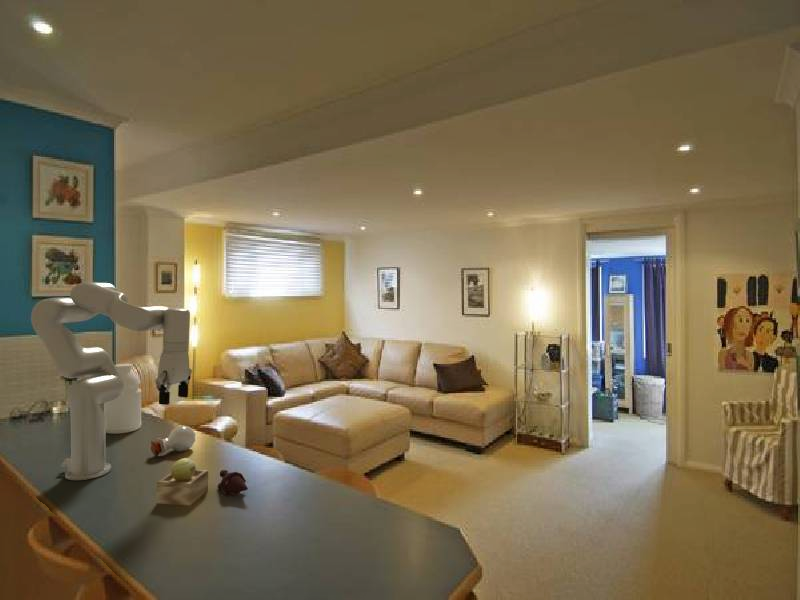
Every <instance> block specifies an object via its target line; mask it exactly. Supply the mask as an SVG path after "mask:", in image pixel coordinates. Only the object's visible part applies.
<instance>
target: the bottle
mask: <svg viewBox="0 0 800 600" xmlns="http://www.w3.org/2000/svg"><path fill="white" fill-rule="evenodd" d="M114 365H115V367H116V368H117V370H118V372H119V374H120V376H121V378H122V380H123V383H124V391H123V393H122V395H121V396H120V397H118V398H117V399H114V400H111V401H108V402H105V403H103V412H104V414H105V418H106V434H112V435H115V434H119V435H120V434H125V433H131V432H134V431H137V430H139V429H140V428H141V427H142V389H141V388H140V387H139V385H140V384H142V381H141V379H140V377H139V376H138V374H137V373H136V372H135V371H134V370H132V369H133V365H132V364H131V363H120V364H114Z"/></svg>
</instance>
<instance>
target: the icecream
mask: <svg viewBox="0 0 800 600" xmlns="http://www.w3.org/2000/svg"><path fill="white" fill-rule="evenodd" d="M219 477H221V478H222V479H221V481H220V482H219V483H218V484H217V489H218V490H220V491H222V492H223V494H224V495H226V496H230V497H234V496H236V495H238V494H240V493H241V492H243V491H248V490H249V489H248V487H247V485H246V479H245V477H244V475H243V474H242V473H240V472H239V471H233V472H232V471H231V472H229V471H228V470H226V469H222V470H221V471H220V472H219Z"/></svg>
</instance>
